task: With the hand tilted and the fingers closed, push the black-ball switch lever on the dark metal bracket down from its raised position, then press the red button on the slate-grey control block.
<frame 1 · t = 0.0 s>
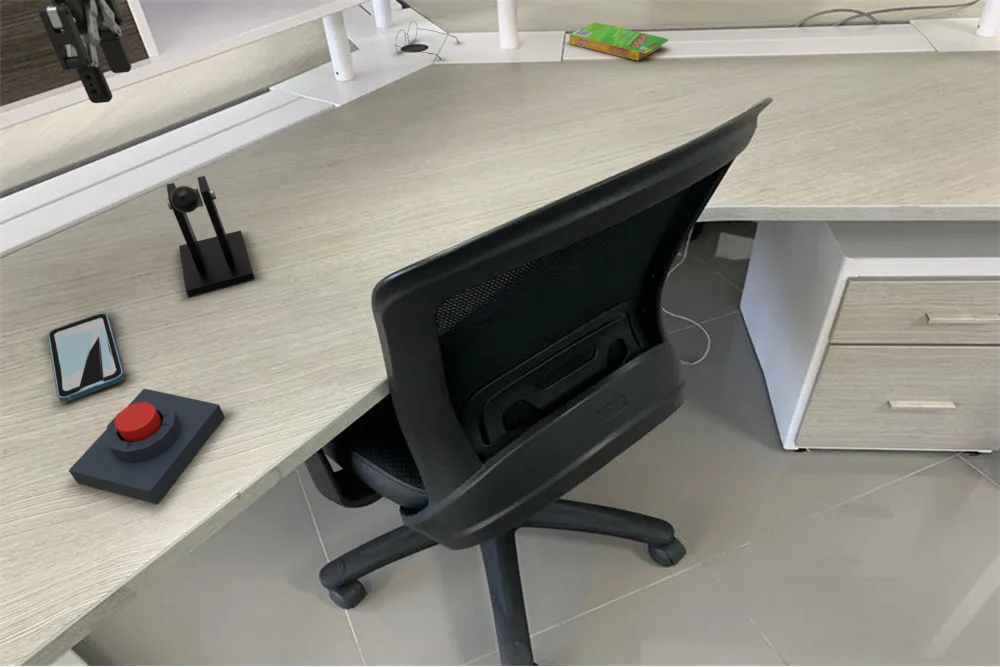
hand: (113, 86, 80), 28 cm above the table, tool pointing down, fingers open, 8 cm apart
button block: (154, 449, 76), on the table
game box: (618, 48, 158), on the table
smartphone: (87, 358, 88), on the table
button: (138, 421, 73), point 4 cm above the table, slide at 0.1 cm
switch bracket: (217, 265, 101), on the table
switch lever: (188, 199, 89), point 13 cm above the table, hinge at 28.0°
eyeglasses: (428, 50, 163), on the table
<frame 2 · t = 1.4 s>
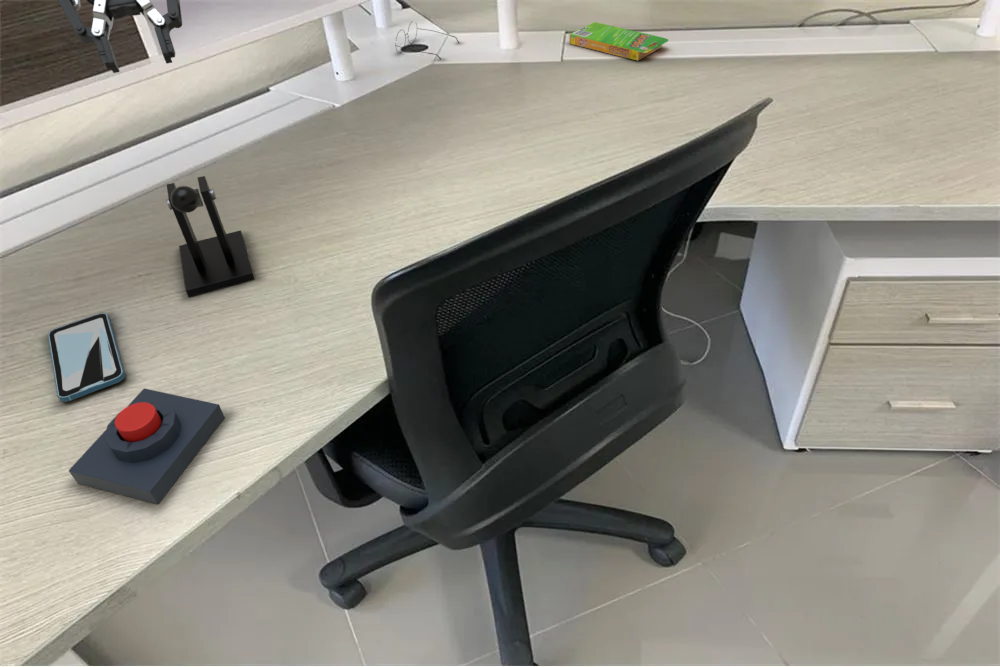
hand: (141, 64, 85), 28 cm above the table, tool tilted 45°, fingers open, 5 cm apart
nothing on the table moved.
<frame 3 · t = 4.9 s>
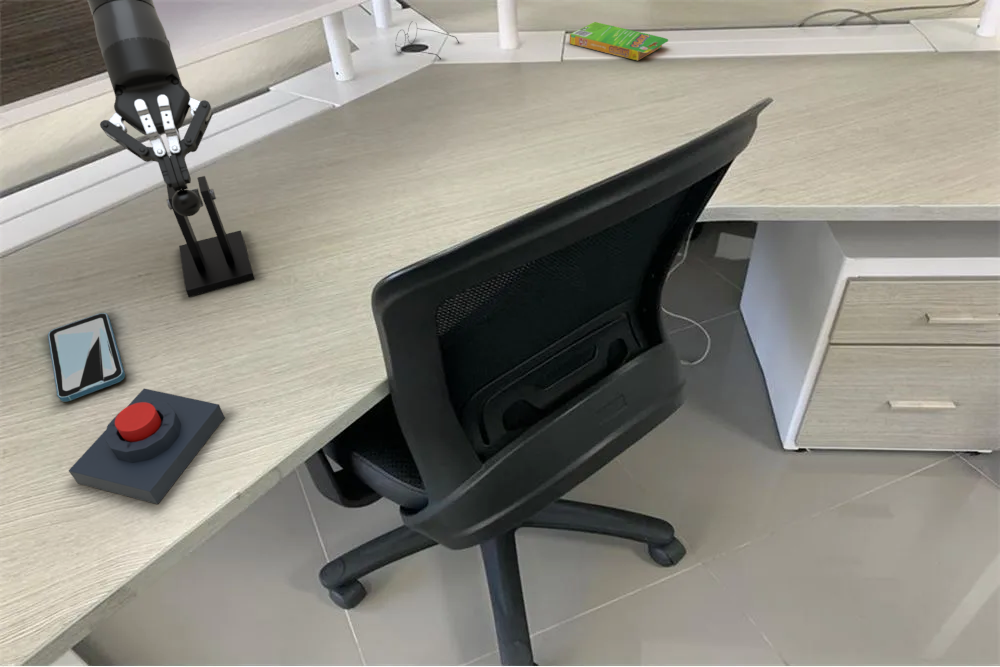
hand: (180, 188, 84), 17 cm above the table, tool tilted 45°, fingers closed
switch lever: (189, 201, 89), point 13 cm above the table, hinge at 25.4°, touching gripper
everything else where it was.
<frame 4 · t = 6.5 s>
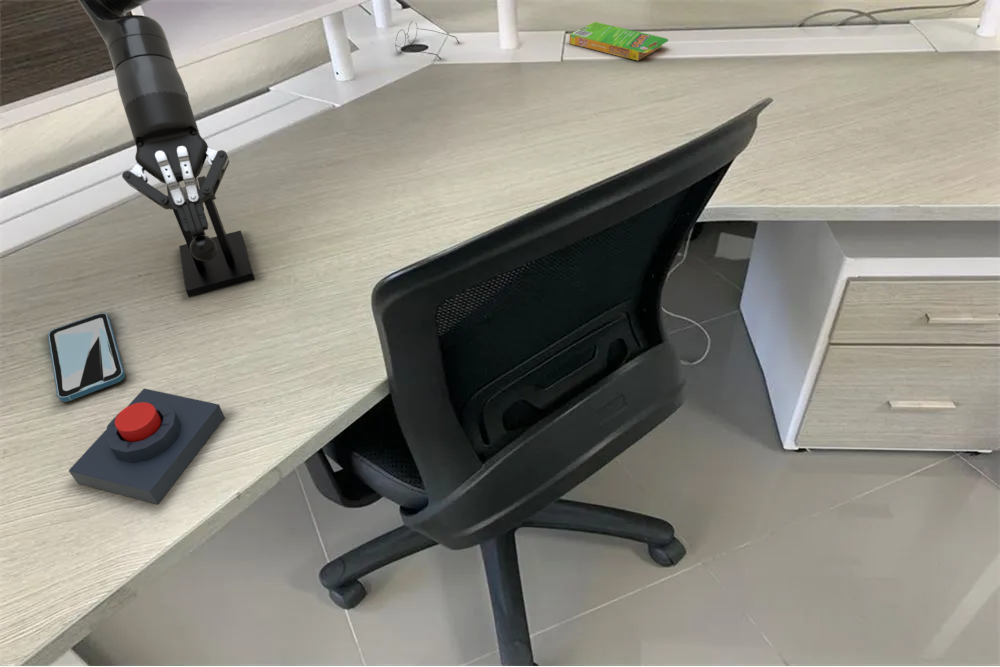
hand: (198, 234, 87), 11 cm above the table, tool tilted 45°, fingers closed
switch lever: (197, 223, 91), point 10 cm above the table, hinge at -10.9°, touching gripper
everything else where it was.
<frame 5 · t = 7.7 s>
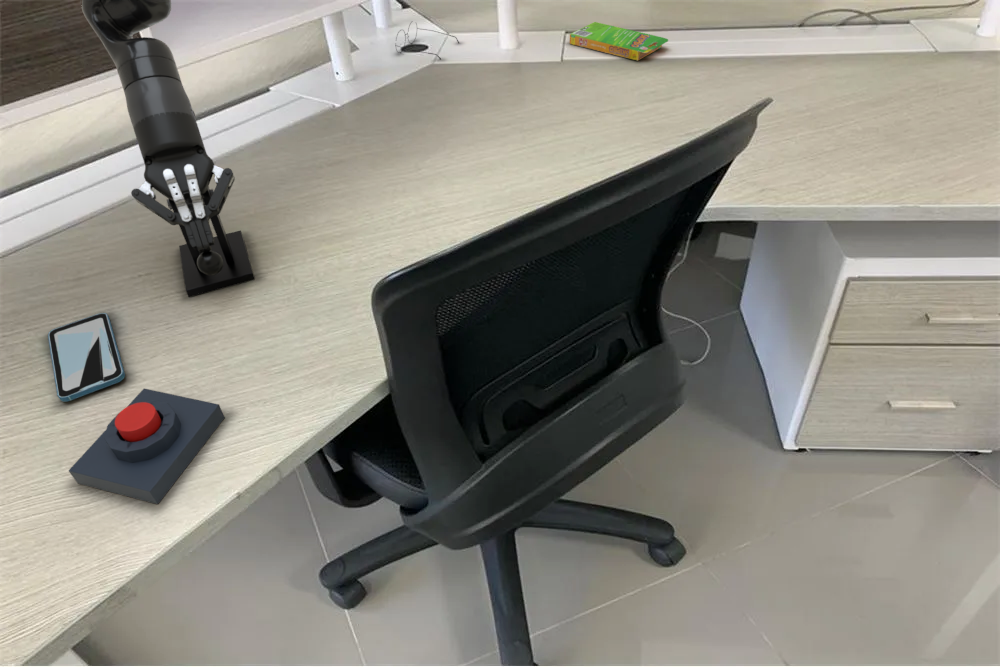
hand: (205, 250, 90), 8 cm above the table, tool tilted 45°, fingers closed
switch lever: (200, 231, 93), point 9 cm above the table, hinge at -29.1°
everything else where it was.
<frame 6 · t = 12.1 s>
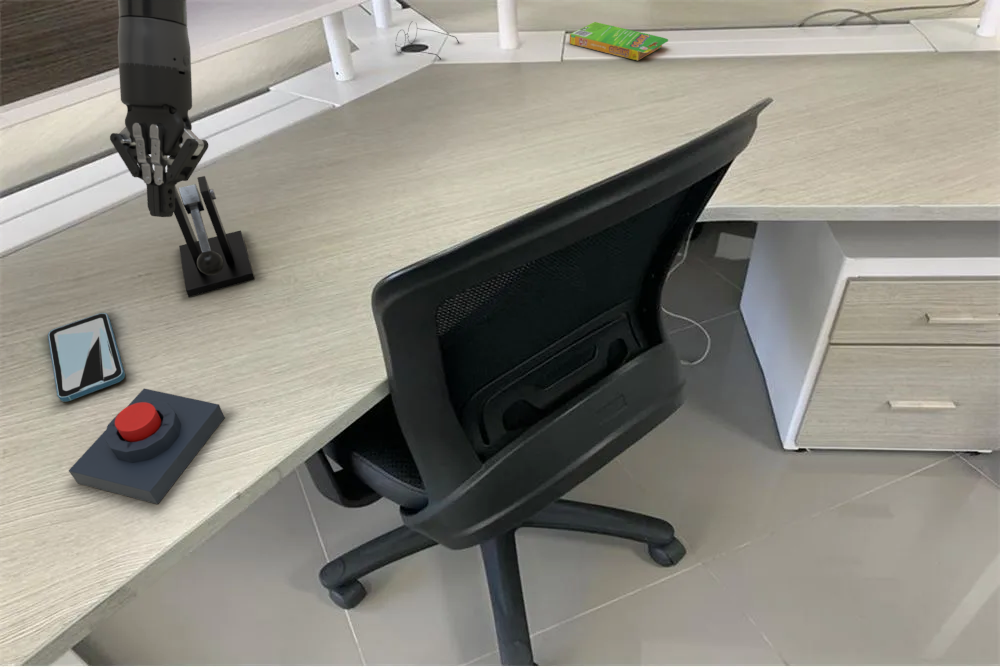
hand: (162, 216, 85), 14 cm above the table, tool tilted 30°, fingers closed
nothing on the table moved.
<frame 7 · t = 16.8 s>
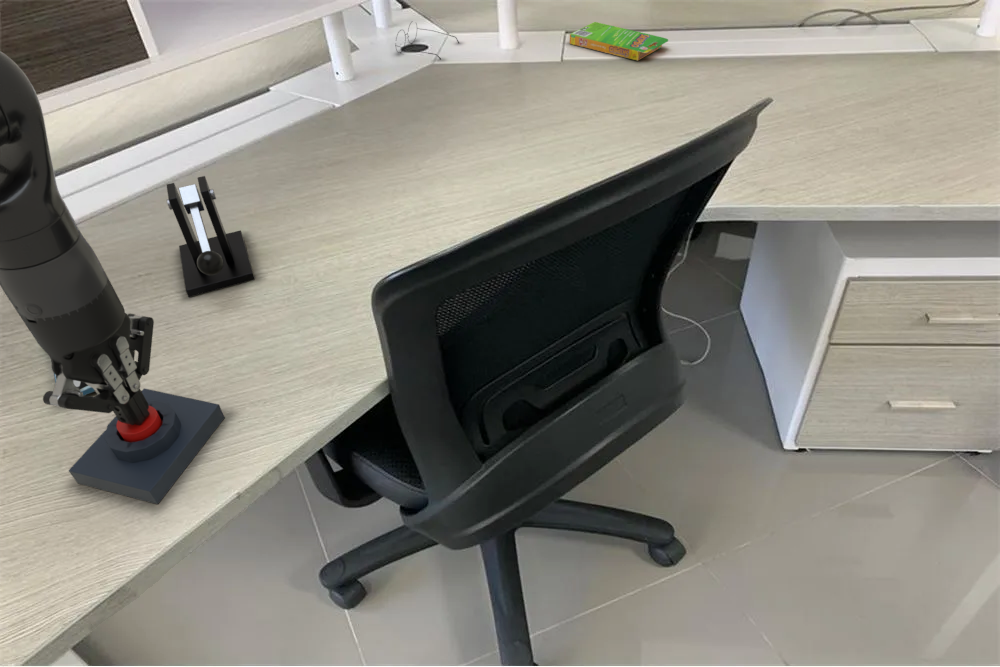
hand: (137, 419, 73), 5 cm above the table, tool pointing down, fingers closed
button: (140, 424, 73), point 4 cm above the table, slide at -0.4 cm, touching gripper
everything else where it was.
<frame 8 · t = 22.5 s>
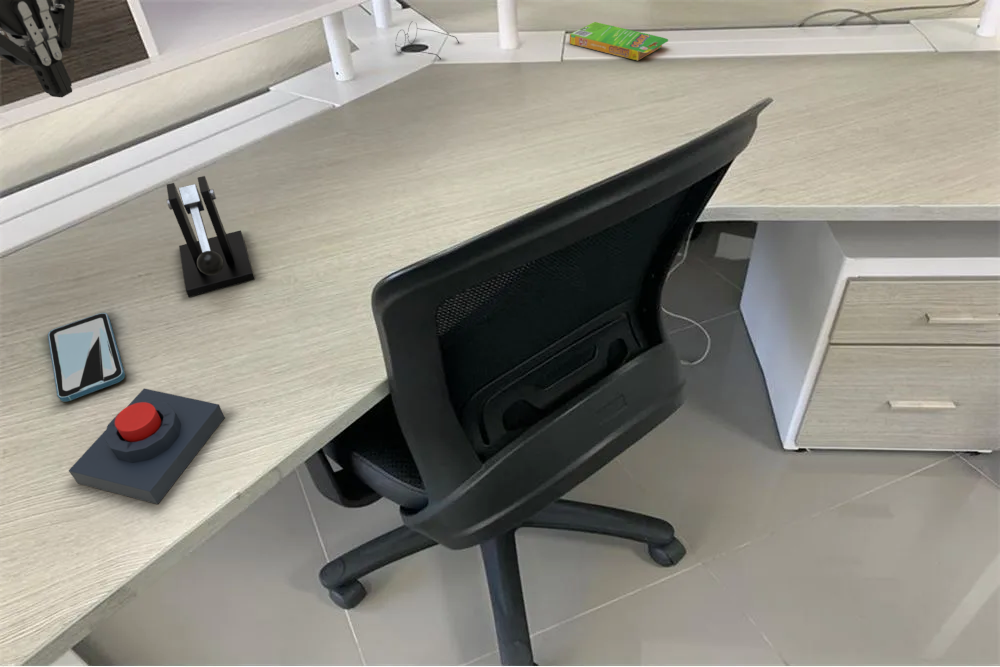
hand: (61, 94, 82), 27 cm above the table, tool pointing down, fingers closed
button: (138, 421, 73), point 4 cm above the table, slide at 0.1 cm
everything else where it was.
at the end: switch lever at -29° (first picture: +28°); button pushed in 1.1 cm at the most during the clip, back to where it started at the end; button slide at 0.1 cm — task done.
